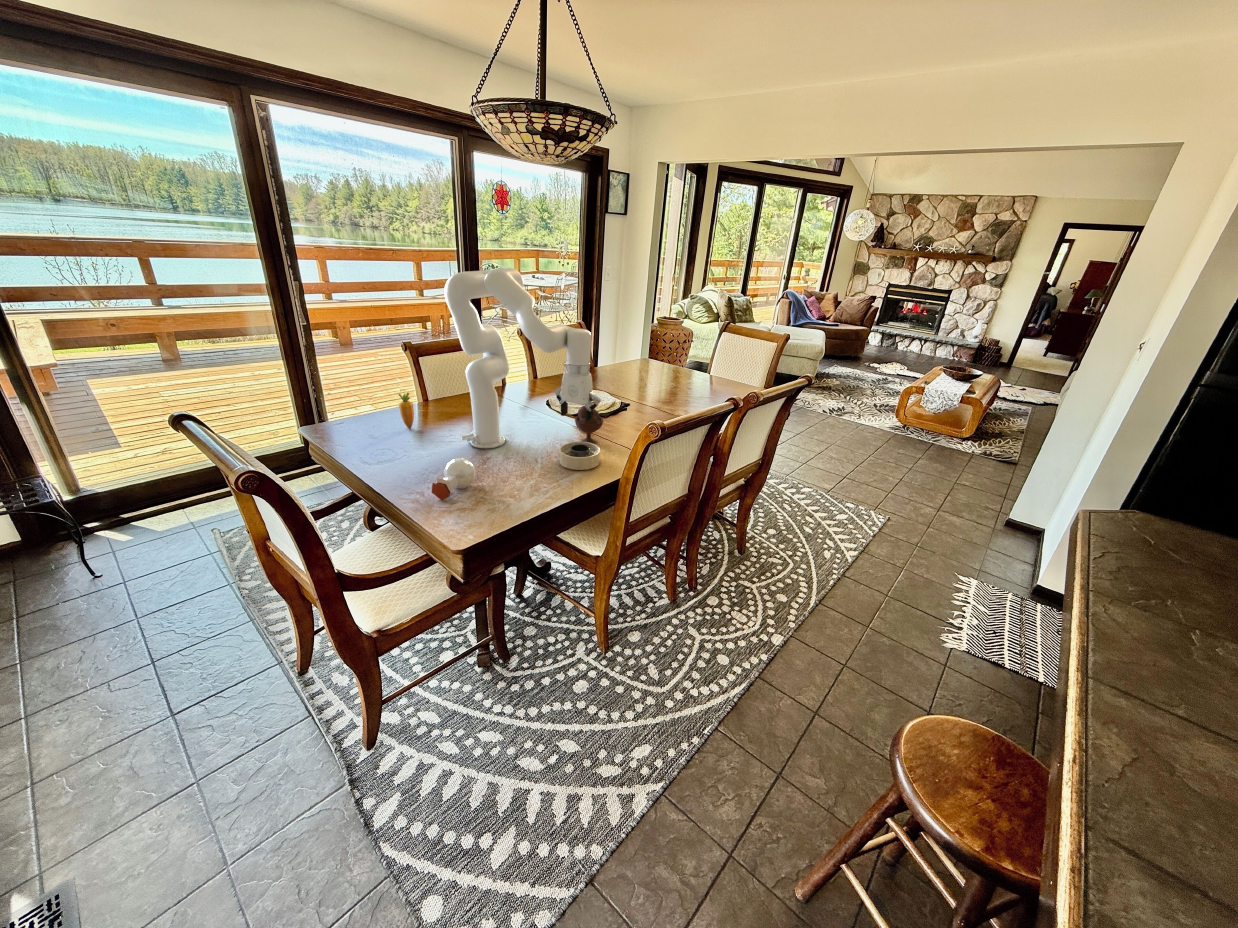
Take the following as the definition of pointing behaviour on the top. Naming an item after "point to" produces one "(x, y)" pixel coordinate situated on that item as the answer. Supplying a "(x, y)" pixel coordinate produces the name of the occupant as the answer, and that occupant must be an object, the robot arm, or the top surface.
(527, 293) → the robot arm
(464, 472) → the potion bottle
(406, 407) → the carrot
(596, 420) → the ice cream bowl
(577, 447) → the black bowl
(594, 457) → the cream bowl
